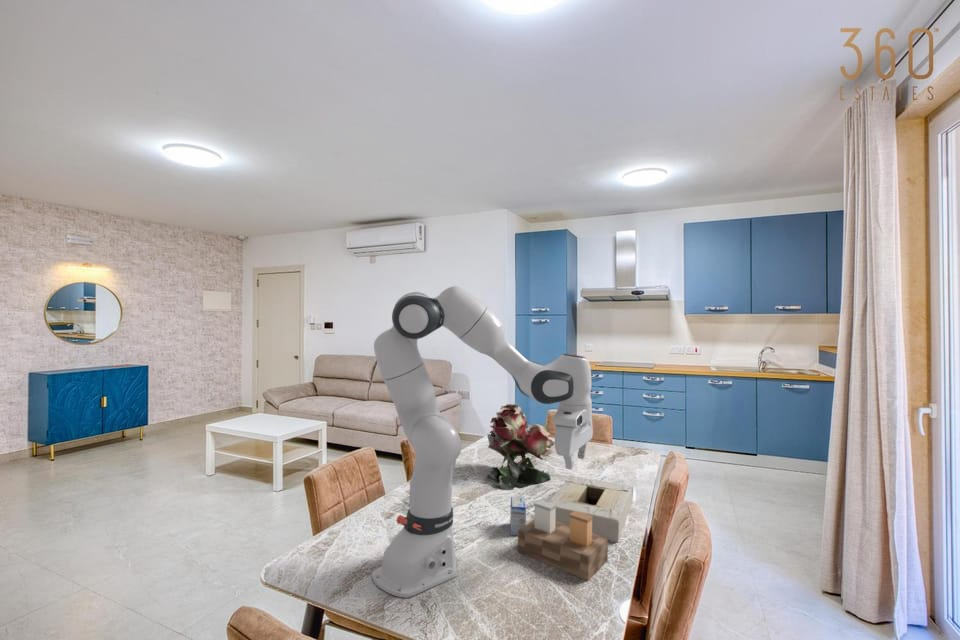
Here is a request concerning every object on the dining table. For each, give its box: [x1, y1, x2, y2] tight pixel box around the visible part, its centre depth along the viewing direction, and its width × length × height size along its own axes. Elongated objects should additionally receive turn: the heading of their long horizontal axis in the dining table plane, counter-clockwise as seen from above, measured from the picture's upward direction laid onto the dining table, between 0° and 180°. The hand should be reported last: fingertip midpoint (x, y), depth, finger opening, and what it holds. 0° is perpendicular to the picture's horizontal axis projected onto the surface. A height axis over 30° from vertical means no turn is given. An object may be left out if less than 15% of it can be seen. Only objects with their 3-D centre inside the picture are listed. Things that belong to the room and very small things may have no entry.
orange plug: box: [569, 511, 593, 547], centre depth 116 cm, size 3×5×10 cm, turn 51°
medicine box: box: [509, 496, 527, 536], centre depth 134 cm, size 8×4×9 cm, turn 178°
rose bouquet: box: [485, 403, 555, 491], centre depth 182 cm, size 26×29×30 cm
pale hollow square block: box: [546, 474, 634, 543], centre depth 146 cm, size 23×8×32 cm
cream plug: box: [533, 499, 556, 534], centre depth 123 cm, size 3×5×10 cm, turn 51°
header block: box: [517, 519, 609, 582], centre depth 119 cm, size 12×21×6 cm, turn 51°
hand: (575, 463), depth 119 cm, fingers open, 8 cm apart
